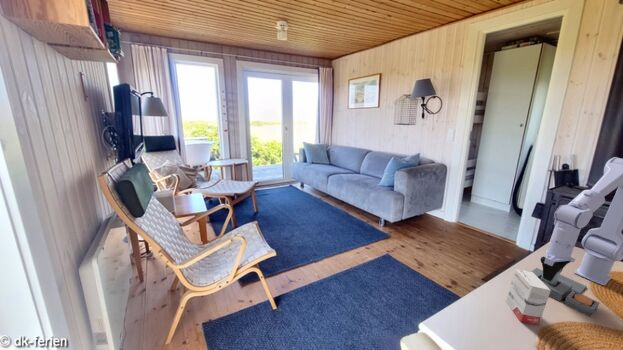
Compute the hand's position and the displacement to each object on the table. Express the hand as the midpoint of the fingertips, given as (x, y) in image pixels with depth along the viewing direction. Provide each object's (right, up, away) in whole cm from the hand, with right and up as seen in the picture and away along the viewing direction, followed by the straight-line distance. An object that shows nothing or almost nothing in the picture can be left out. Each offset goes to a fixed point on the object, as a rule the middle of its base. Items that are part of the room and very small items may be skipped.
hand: (549, 277), depth 88 cm
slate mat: (+9, -4, +3) cm, 10 cm away
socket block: (0, -4, +1) cm, 4 cm away
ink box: (-19, -6, -11) cm, 22 cm away
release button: (+3, -6, -7) cm, 10 cm away
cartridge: (0, -3, +1) cm, 3 cm away
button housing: (+3, -6, -7) cm, 10 cm away
